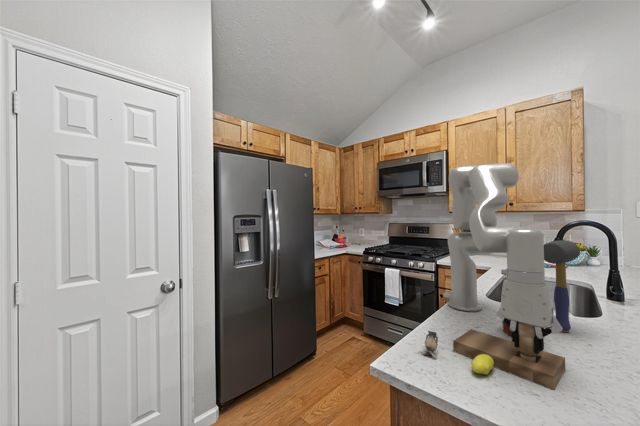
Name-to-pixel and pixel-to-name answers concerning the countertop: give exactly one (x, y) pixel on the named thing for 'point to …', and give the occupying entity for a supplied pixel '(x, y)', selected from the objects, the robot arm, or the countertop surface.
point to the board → (512, 358)
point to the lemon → (482, 364)
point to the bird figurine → (430, 344)
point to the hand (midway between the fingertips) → (527, 348)
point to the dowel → (526, 341)
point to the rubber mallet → (561, 276)
